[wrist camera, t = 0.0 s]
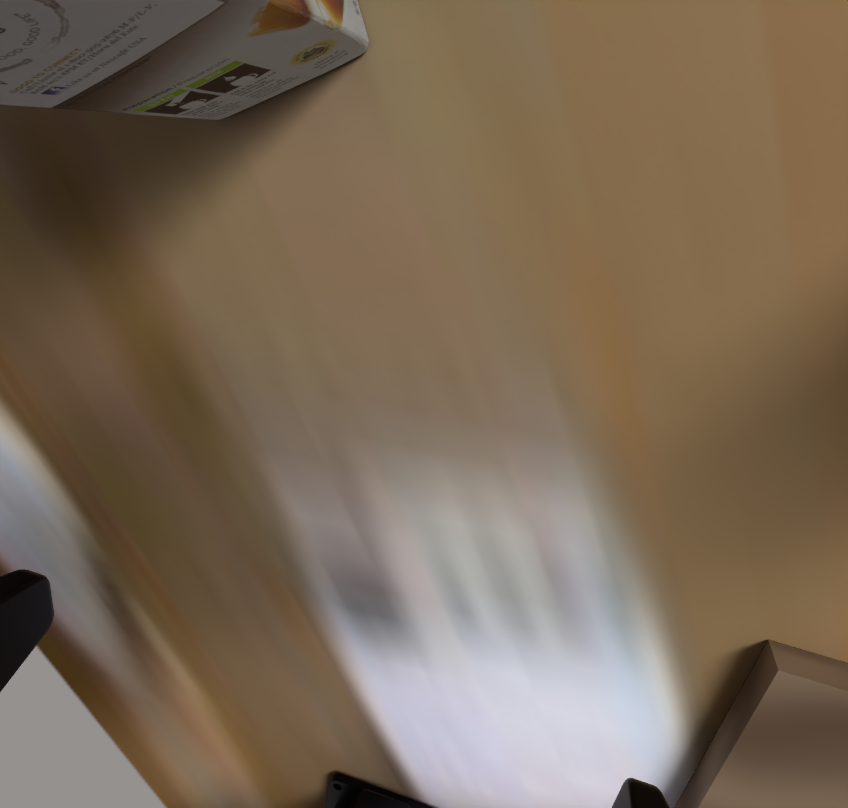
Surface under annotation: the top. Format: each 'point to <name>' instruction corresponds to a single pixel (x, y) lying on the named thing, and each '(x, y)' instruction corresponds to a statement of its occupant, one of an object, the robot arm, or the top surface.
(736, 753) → the lock board
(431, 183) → the top surface
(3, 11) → the coffee box
